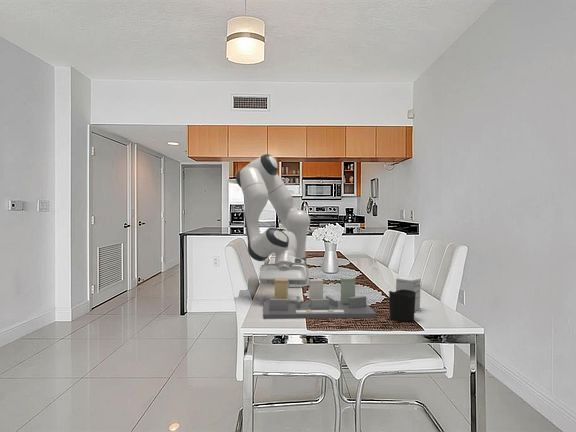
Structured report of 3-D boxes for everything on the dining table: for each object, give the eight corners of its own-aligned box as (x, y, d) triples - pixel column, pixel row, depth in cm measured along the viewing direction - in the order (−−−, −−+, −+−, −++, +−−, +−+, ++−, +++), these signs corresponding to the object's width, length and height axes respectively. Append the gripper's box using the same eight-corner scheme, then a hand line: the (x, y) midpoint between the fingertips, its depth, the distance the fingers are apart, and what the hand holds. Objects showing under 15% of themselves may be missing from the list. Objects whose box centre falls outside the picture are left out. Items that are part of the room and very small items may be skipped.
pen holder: (415, 323, 155) (415, 295, 154) (388, 321, 157) (388, 293, 157) (415, 316, 164) (415, 290, 164) (389, 314, 166) (389, 288, 166)
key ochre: (275, 303, 176) (275, 278, 175) (288, 303, 175) (288, 279, 175) (274, 305, 172) (274, 280, 172) (287, 305, 172) (287, 280, 172)
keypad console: (263, 305, 181) (263, 291, 180) (363, 304, 183) (363, 291, 183) (263, 318, 160) (263, 303, 159) (376, 317, 162) (376, 302, 162)
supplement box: (395, 309, 175) (395, 278, 174) (403, 306, 180) (404, 275, 180) (412, 312, 170) (412, 280, 169) (420, 309, 175) (421, 277, 175)
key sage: (340, 302, 178) (340, 278, 178) (351, 301, 181) (351, 277, 180) (344, 303, 175) (344, 279, 175) (355, 302, 178) (355, 278, 177)
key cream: (308, 303, 175) (308, 279, 175) (321, 303, 176) (321, 279, 176) (310, 305, 172) (310, 280, 172) (323, 305, 173) (323, 280, 172)
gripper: (260, 259, 185) (255, 286, 176) (308, 260, 183) (305, 288, 173) (262, 268, 190) (257, 295, 180) (308, 269, 187) (306, 296, 178)
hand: (281, 291), depth 177 cm, fingers closed
